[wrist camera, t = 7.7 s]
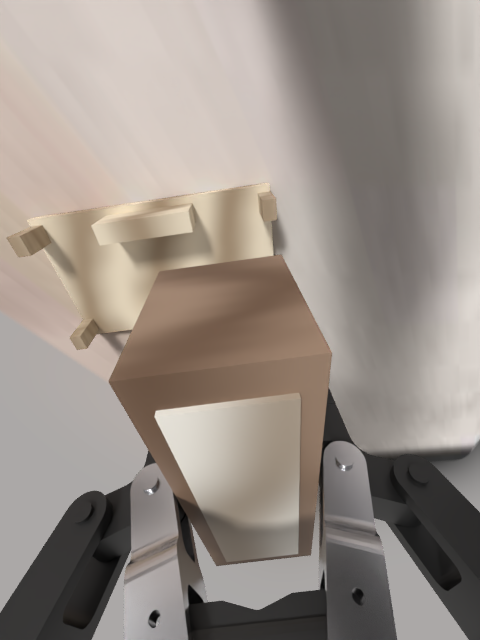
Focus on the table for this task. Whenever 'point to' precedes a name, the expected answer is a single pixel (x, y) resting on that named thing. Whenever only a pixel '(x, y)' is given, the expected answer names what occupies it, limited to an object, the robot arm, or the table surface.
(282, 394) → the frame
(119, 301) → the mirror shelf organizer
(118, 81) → the table surface
